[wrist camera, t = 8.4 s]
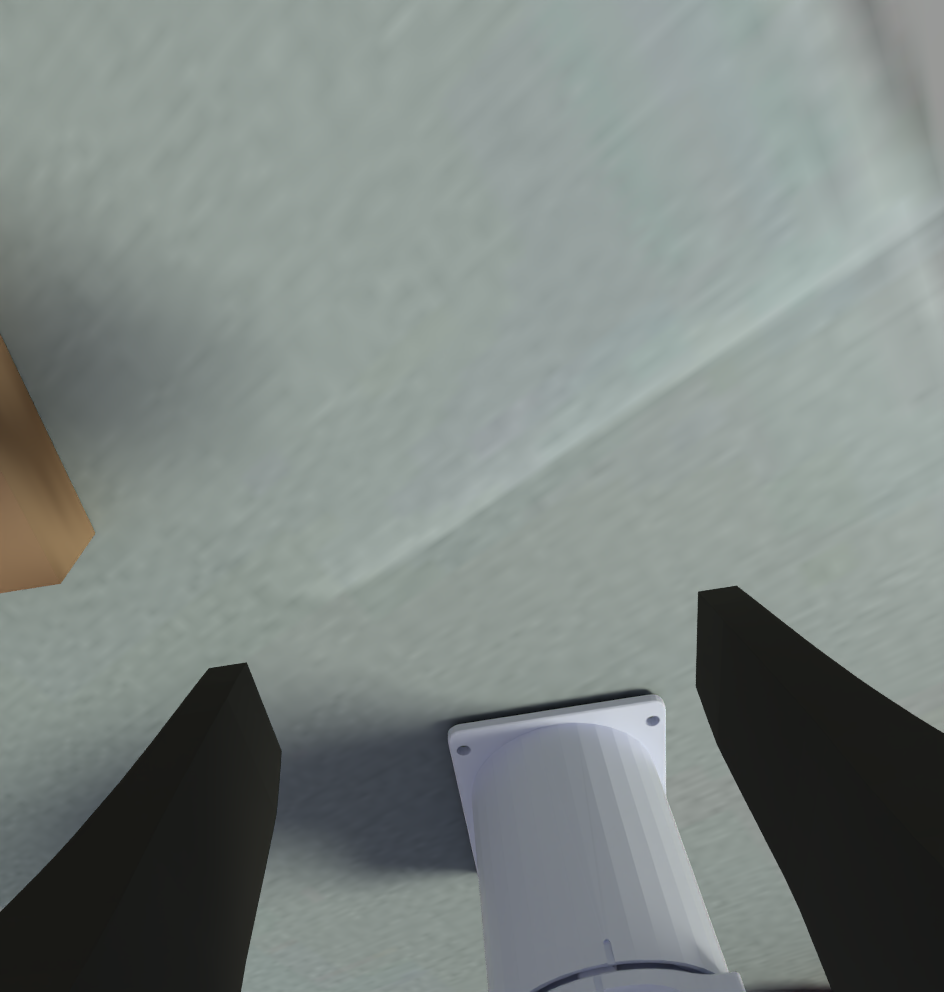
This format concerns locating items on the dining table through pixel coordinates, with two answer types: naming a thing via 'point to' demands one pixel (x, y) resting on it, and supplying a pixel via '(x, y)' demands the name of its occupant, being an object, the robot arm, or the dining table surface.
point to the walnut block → (33, 494)
